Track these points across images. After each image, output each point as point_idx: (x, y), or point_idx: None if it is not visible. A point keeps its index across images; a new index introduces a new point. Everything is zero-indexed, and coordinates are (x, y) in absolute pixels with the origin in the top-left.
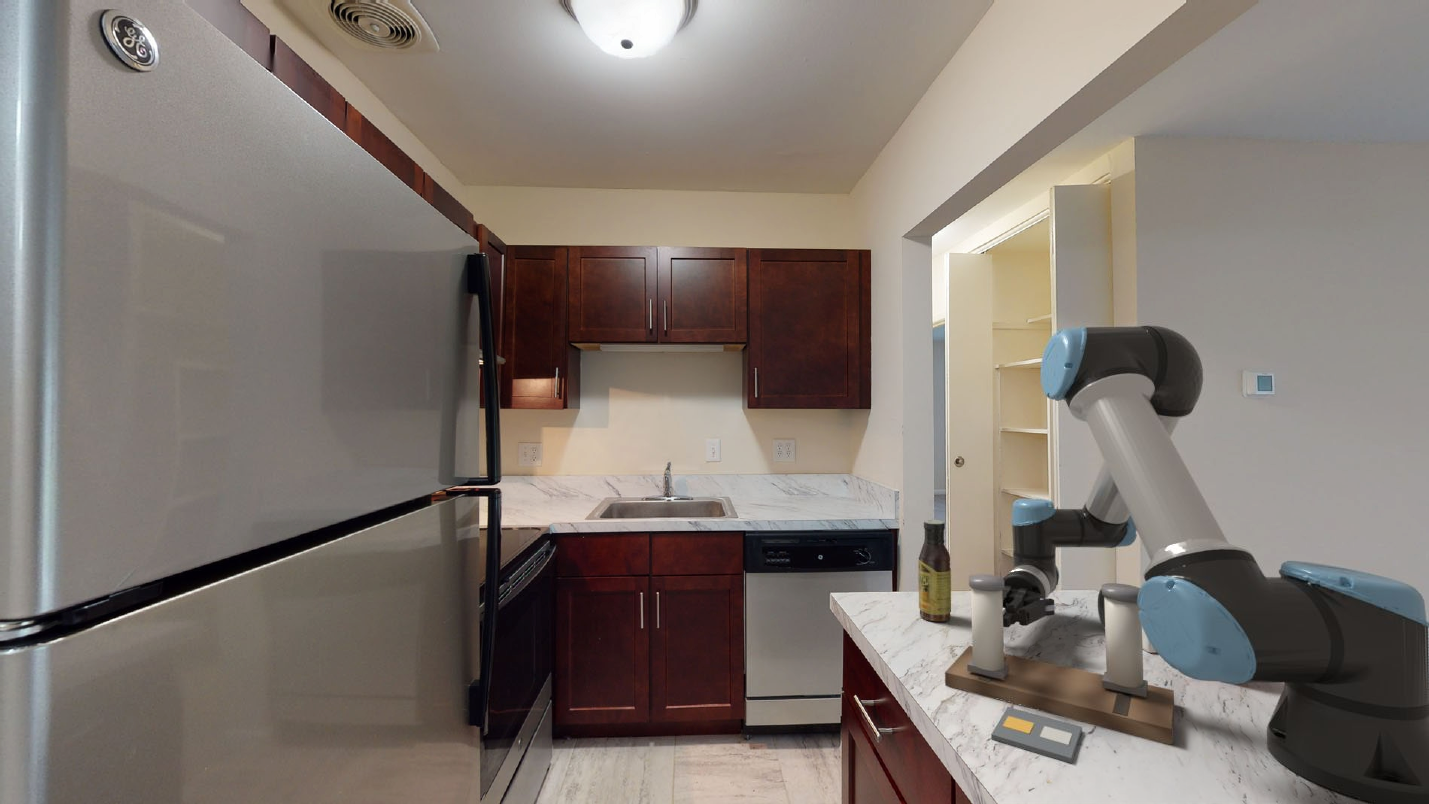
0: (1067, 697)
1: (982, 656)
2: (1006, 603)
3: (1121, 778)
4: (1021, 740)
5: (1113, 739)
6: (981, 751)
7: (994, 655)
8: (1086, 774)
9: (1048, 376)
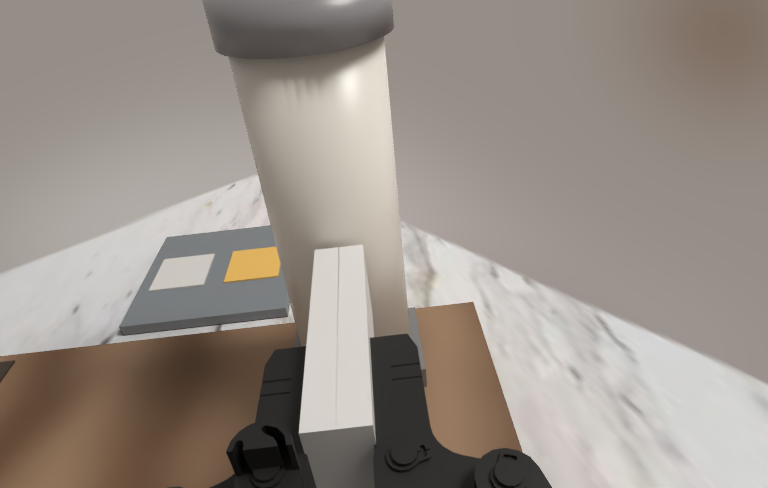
0: (120, 369)
1: None
2: (289, 446)
3: (96, 254)
4: (246, 234)
5: (58, 345)
6: None
7: None
8: (151, 237)
9: None
